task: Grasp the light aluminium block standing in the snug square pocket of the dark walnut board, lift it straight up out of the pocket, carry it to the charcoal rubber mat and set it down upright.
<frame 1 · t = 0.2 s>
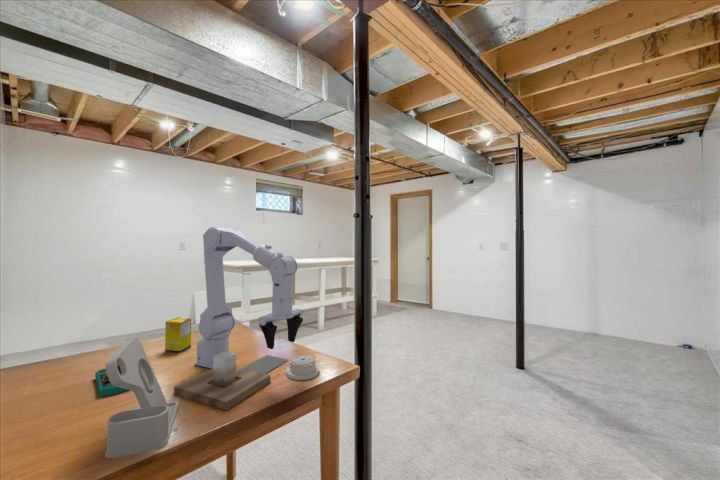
hand: (281, 344, 89), 10 cm above the table, fingers open, 7 cm apart
pocket board: (224, 387, 83), on the table
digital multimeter: (114, 385, 84), on the table
alloy block: (224, 371, 83), in the pocket board
rubber mat: (263, 365, 98), on the table
phone holder: (146, 429, 65), on the table
supplement box: (178, 350, 110), on the table
mechanical component: (302, 374, 93), on the table
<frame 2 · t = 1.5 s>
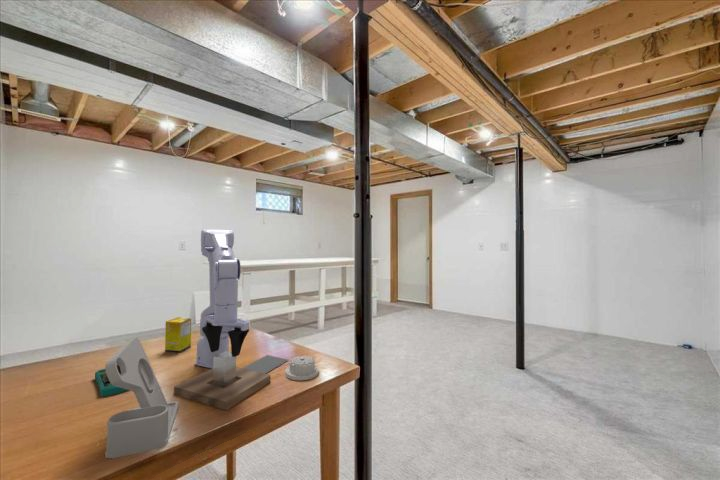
hand: (225, 353, 83), 9 cm above the table, fingers open, 7 cm apart
nothing on the table moved.
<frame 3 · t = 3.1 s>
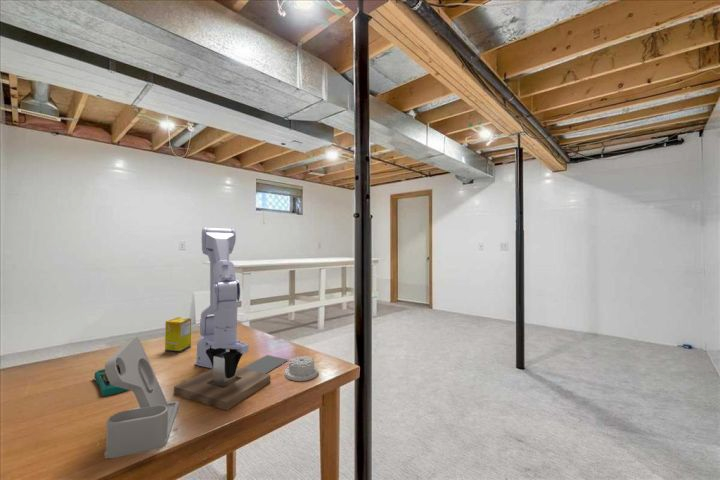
hand: (224, 375, 83), 3 cm above the table, fingers closed on alloy block, 4 cm apart
alloy block: (224, 371, 83), in the pocket board, touching gripper
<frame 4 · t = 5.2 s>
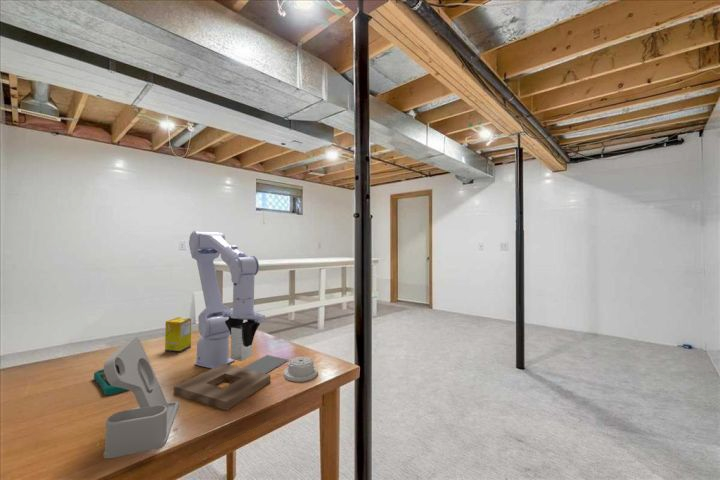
hand: (242, 344, 89), 10 cm above the table, fingers closed on alloy block, 4 cm apart
alloy block: (241, 342, 89), point 11 cm above the table, touching gripper
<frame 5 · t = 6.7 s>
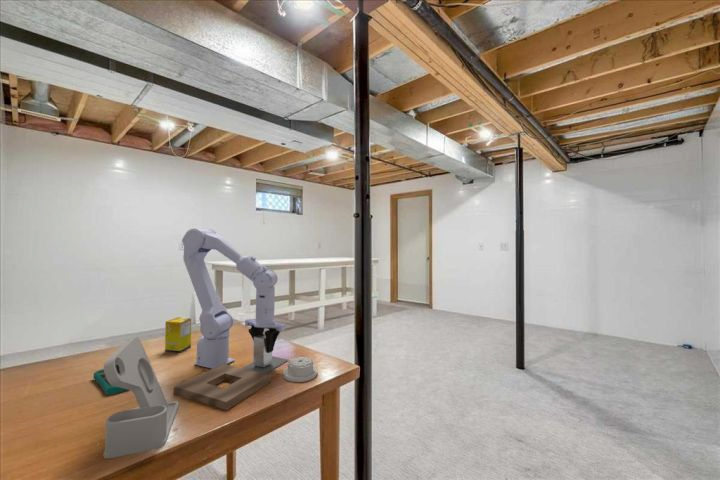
hand: (264, 350, 98), 5 cm above the table, fingers closed on alloy block, 4 cm apart
alloy block: (262, 349, 97), point 5 cm above the table, touching gripper
when the fingers open (4 cm above the table, at t = 7.6 s): alloy block stays where it is, resting on rubber mat.
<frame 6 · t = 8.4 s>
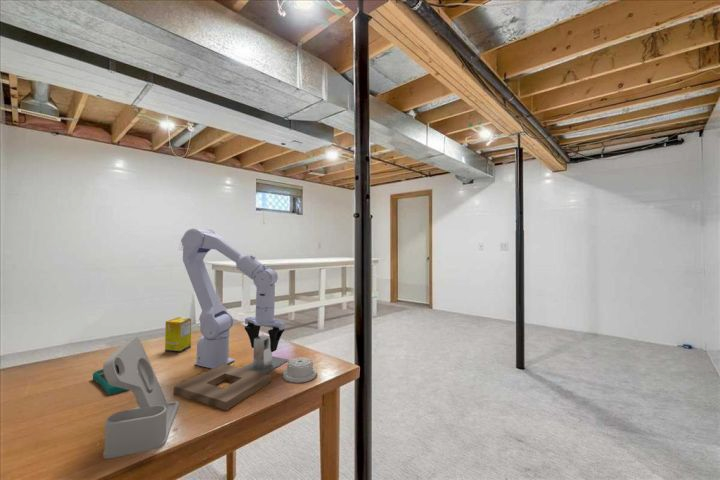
hand: (264, 348, 98), 5 cm above the table, fingers open, 7 cm apart
alloy block: (263, 351, 97), resting on rubber mat
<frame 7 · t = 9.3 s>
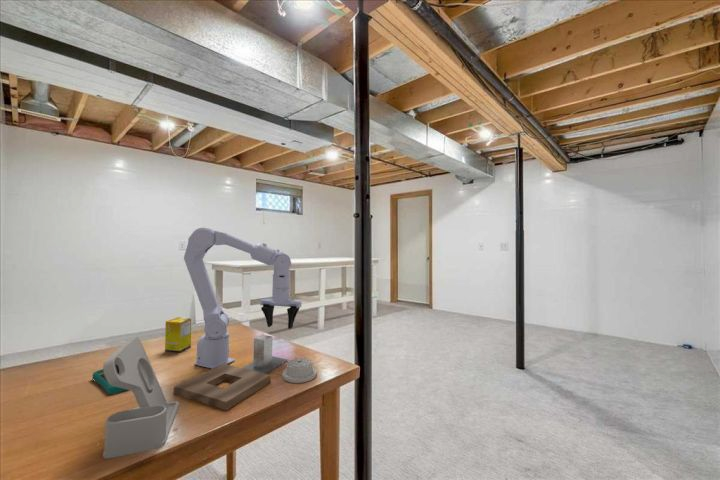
hand: (280, 327, 105), 10 cm above the table, fingers open, 7 cm apart
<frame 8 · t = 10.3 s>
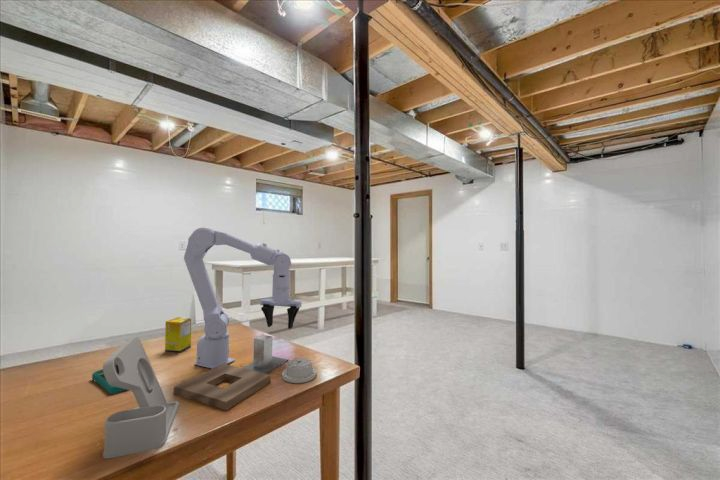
hand: (280, 327, 105), 10 cm above the table, fingers open, 7 cm apart
at the end: alloy block inside the target area on the rubber mat (0.6 cm from its centre), point 4.8 cm above the rubber mat's base; alloy block tilted 0°; the gripper is holding nothing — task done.
